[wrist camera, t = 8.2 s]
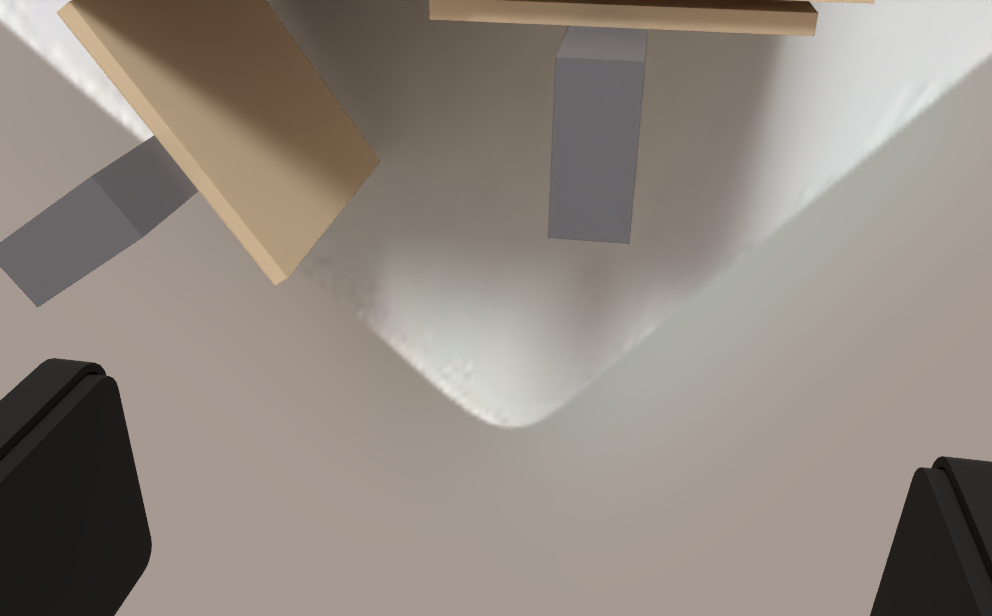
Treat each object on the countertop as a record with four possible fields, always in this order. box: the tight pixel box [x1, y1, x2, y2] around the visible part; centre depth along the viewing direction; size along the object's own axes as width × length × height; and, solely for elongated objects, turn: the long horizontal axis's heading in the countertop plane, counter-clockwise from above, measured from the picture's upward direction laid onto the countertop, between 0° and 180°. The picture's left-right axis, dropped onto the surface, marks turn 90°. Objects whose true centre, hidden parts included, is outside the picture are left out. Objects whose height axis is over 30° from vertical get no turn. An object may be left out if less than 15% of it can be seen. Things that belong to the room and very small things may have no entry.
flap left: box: [0, 0, 380, 307], centre depth 28 cm, size 9×4×13 cm, turn 34°
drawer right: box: [429, 0, 818, 244], centre depth 25 cm, size 9×4×13 cm, turn 89°
